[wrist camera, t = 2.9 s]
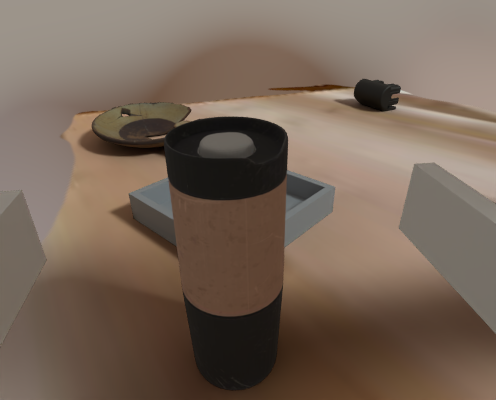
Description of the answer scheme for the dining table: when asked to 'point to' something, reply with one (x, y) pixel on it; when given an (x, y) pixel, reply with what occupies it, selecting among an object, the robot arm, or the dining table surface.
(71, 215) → the dining table surface
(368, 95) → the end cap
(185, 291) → the travel mug
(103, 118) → the oil lamp
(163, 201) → the parts tray
